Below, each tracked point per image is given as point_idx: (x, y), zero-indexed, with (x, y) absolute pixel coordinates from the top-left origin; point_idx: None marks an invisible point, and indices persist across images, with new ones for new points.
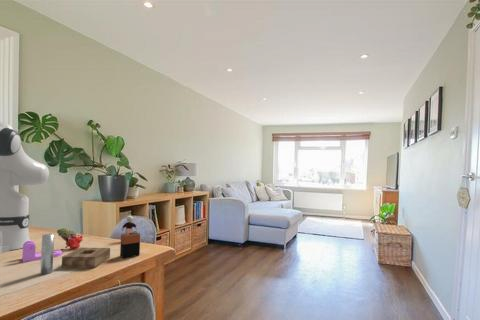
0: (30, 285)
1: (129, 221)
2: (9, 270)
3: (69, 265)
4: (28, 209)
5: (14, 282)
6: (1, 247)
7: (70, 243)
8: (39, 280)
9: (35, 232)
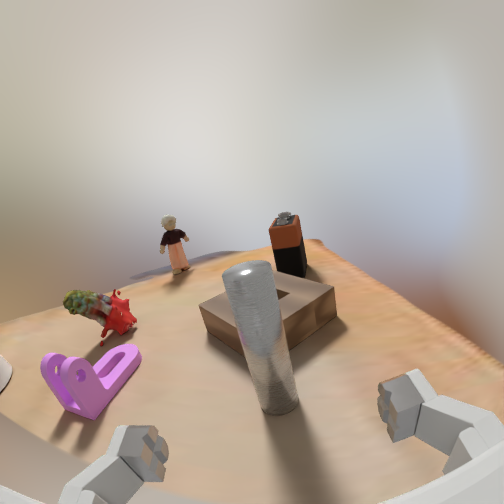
0: (390, 438)
1: (173, 226)
2: None
3: None
4: None
5: (308, 484)
6: (448, 399)
7: (116, 319)
8: (351, 419)
9: None
